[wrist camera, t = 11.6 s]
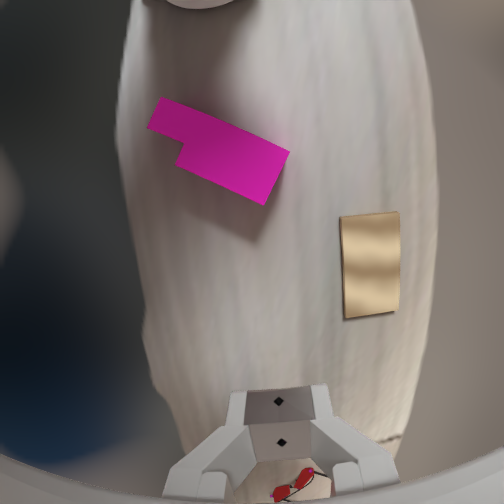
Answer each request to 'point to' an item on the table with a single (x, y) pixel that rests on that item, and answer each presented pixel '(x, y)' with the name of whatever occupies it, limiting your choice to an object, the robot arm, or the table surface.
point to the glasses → (300, 482)
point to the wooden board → (370, 263)
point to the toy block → (220, 150)
